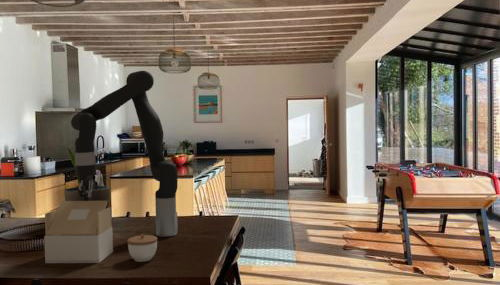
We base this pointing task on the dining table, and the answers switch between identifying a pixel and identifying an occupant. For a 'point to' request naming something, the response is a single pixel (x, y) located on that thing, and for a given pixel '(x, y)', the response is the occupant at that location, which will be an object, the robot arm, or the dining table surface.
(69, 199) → the potted plant
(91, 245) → the carton
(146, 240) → the lidded jar
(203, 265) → the dining table surface
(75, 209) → the flap
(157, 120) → the robot arm
